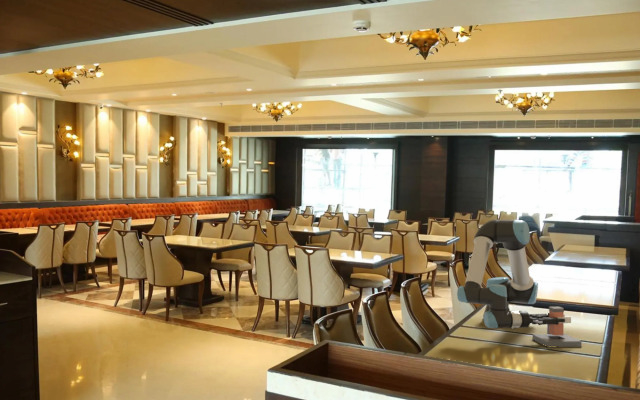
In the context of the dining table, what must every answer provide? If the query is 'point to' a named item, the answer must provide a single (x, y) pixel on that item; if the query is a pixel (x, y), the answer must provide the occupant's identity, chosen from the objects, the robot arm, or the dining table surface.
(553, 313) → the plug
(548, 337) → the socket plate
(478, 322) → the dining table surface
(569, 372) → the dining table surface
